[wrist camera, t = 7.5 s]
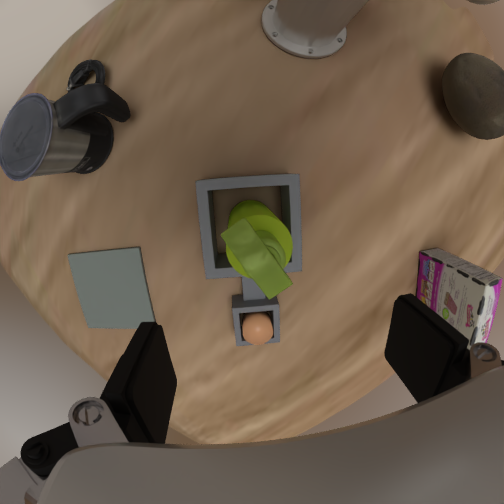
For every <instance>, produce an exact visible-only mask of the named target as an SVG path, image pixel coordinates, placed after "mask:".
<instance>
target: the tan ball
mask: <svg viewBox="0 0 504 504" xmlns="http://www.w3.org/2000/svg"><path fill="white" fill-rule="evenodd" d="M242 328H243V337H244V339H245V340H246V341H247V342H249V343H251V344H254V345H260V344H264V343H266V342H268V341H269V340H270V339H271V337H272V335H273V327H272V323H271V319H270V316H269V314H268V313H267V312H266V311H259V312H248V313H245V315H244V316H243V319H242Z"/></svg>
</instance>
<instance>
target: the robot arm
mask: <svg viewBox="0 0 504 504" xmlns="http://www.w3.org/2000/svg"><path fill="white" fill-rule="evenodd" d="M368 1H369V0H272V1H271V2H269V3H268V4H267V5H266V7H265V8H264V11H263V14H262V19H261V21H262V27H263V30H264V32H265V34H266V35H267V37H268V38H269V39H270V40H271V41H272V42H273V43H274V44H275V45H276V46H278V47H279V48H280V49H282V50H284V51H286V52H287V53H290V54H293V55H295V56H299V57H303V58H311V59H315V58H324V57H328V56H330V55H333V54H334V53H336V52H337V51H338V50H339V49H340V48H341V47H342V46H343V45H344V43H345V40H346V37H347V30H346V25H347V24H348V23H349V22H350V21H351V19H352V18H353V17H354V16H355V15H356V14H357V13H358V12H359V11H360V9H361V8H362V7H363V6H364V5H365V4H366V3H367V2H368ZM467 1H469V2H472V3H475V4H484V5H485V4H491V3H494V2H497V1H499V0H467ZM274 36H275V37H274ZM309 53H311V54H309ZM468 343H469V339H467V338H466V337H465V336H464V335H463V334H462V333H460V332H459V331H458V330H457V329H456V328H454V327H453V326H452V325H451V324H449V323H448V322H447V321H446V320H445V319H443V318H442V317H441V316H440V315H438V314H437V313H436V312H435V311H433V310H432V309H431V308H430V307H428V306H427V305H426V304H424V303H423V302H422V301H421V300H419V299H418V298H417V297H415V296H414V295H413V294H405V295H400V296H399V297H398V298H397V300H395V302H394V307H393V313H392V318H391V324H390V329H389V334H388V339H387V343H386V348H385V358H386V360H387V361H388V363H389V364H390V365H391V367H392V368H393V369H394V371H395V372H396V373H397V375H398V376H399V378H400V379H401V380H402V381H403V383H404V384H405V386H406V387H407V388H408V390H409V391H410V393H411V394H412V395H413V397H414V398H415V400H416V401H417V402H418V403H417V404H415V405H412V406H409V407H407V408H404V409H401V410H399V411H396V412H393V413H390V414H387V415H384V416H381V417H378V418H375V419H372V420H368V421H365V422H361V423H357V424H354V425H350V426H346V427H342V428H338V429H333V430H329V431H324V432H320V433H315V434H309V435H304V436H298V437H291V438H285V439H277V440H269V441H260V442H249V443H233V444H197V445H192V444H165V440H166V435H167V430H168V425H169V420H170V415H171V410H172V405H173V401H174V396H175V391H176V387H177V379H176V375H175V372H174V368H173V365H172V361H171V358H170V354H169V351H168V347H167V343H166V340H165V336H164V332H163V328H162V326H161V325H158V324H157V323H156V322H141V323H140V325H139V327H138V328H137V330H136V332H135V334H134V336H133V337H132V339H131V341H130V343H129V345H128V347H127V349H126V351H125V352H124V354H123V355H122V356H121V357H120V359H119V361H118V363H117V365H116V367H115V369H114V371H113V373H112V375H111V377H110V378H109V380H108V382H107V384H106V386H105V388H104V390H103V392H102V394H101V397H100V398H95V397H87V398H84V399H81V400H79V401H77V402H76V403H75V404H73V406H72V407H71V408H70V410H69V414H68V417H69V422H68V423H66V424H63V425H61V426H59V427H56V428H54V429H51V430H49V431H47V432H44V433H42V434H39V435H37V436H35V437H32V438H30V439H28V440H27V441H26V442H25V443H24V444H23V446H22V448H21V458H20V459H18V458H17V457H15V458H13V459H12V460H10V461H9V462H8V463H6V464H5V465H4V466H2V467H1V468H0V504H504V361H503V360H501V358H500V354H499V351H498V350H497V349H496V348H495V347H494V346H492V345H490V344H488V343H484V342H478V343H475V344H473V345H472V346H471V347H470V350H469V349H468V348H467V346H468Z"/></svg>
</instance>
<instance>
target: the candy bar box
mask: <svg viewBox="0 0 504 504" xmlns="http://www.w3.org/2000/svg"><path fill="white" fill-rule="evenodd" d="M501 284H502V278H501V277H499V276H497V275H495V274H493V273H491V272H489V271H487V270H485V269H483V268H481V267H479V266H477V265H475V264H472V263H470V262H468V261H466V260H464V259H462V258H459V257H457V256H455V255H453V254H451V253H448V252H446V251H444V250H442V249H439V248H434V249H430V250H425V251H420V252H419V268H418V282H417V293H416V297H417V298H418V299H419V300H421V301H422V302H423V303H424V304H426V305H427V306H428V307H430V308H431V309H432V310H433V311H435V312H436V313H437V314H438V315H440V316H441V317H442V318H443V319H445V320H446V321H447V322H448V323H449V324H451V325H452V326H453V327H454V328H456V329H457V330H458V331H459V332H460V333H462V334H463V335H464V336H465V337H466V338H467V339H469V343H468V346H467V348H468V349H469V350H470V347H471V346H472V345H473V344H475V343H478V342H484V343H487V340H488V336H489V333H490V330H491V327H492V323H493V319H494V316H495V312H496V308H497V304H498V299H499V294H500V289H501Z"/></svg>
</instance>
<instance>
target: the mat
mask: <svg viewBox="0 0 504 504" xmlns="http://www.w3.org/2000/svg"><path fill="white" fill-rule="evenodd" d="M68 259H69V263H70V268H71V272H72V276H73V279H74V283H75V287H76V290H77V294H78V297H79V301H80V304H81V307H82V310H83V313H84V316H85V319H86V322H87V325H88V328H120V329H137V328H138V327H139V325H140V323H141V322H156V320H155V316H154V312H153V308H152V304H151V299H150V295H149V290H148V285H147V281H146V276H145V271H144V265H143V260H142V254H141V248H140V247H131V248H121V249H111V250H101V251H91V252H82V253H73V254H68Z"/></svg>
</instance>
